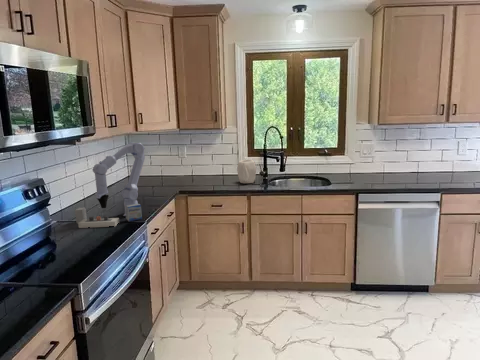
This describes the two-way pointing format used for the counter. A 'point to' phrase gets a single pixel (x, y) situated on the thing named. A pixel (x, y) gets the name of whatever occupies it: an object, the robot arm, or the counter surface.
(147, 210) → the counter surface
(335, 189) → the counter surface
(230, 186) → the counter surface
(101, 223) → the power strip
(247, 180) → the white faceted vase
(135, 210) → the medicine box
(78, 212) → the grey cord holder
